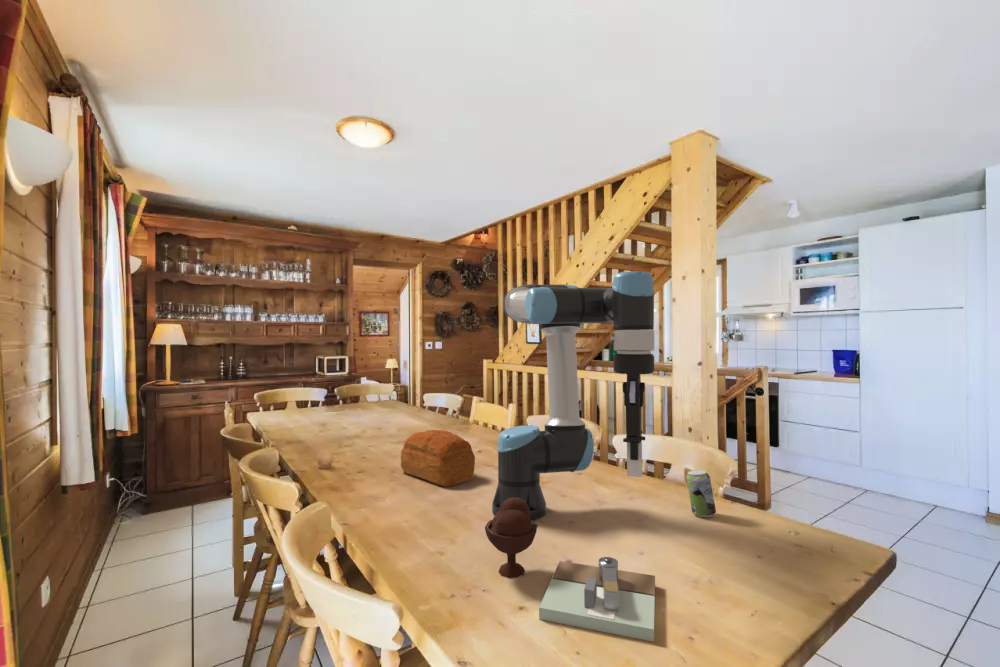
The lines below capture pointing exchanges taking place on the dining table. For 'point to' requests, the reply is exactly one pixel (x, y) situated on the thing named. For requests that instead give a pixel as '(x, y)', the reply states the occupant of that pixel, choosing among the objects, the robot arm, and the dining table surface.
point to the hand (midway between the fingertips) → (634, 475)
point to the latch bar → (609, 582)
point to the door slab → (598, 609)
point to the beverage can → (700, 493)
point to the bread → (438, 457)
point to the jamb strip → (582, 572)
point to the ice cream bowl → (511, 534)
